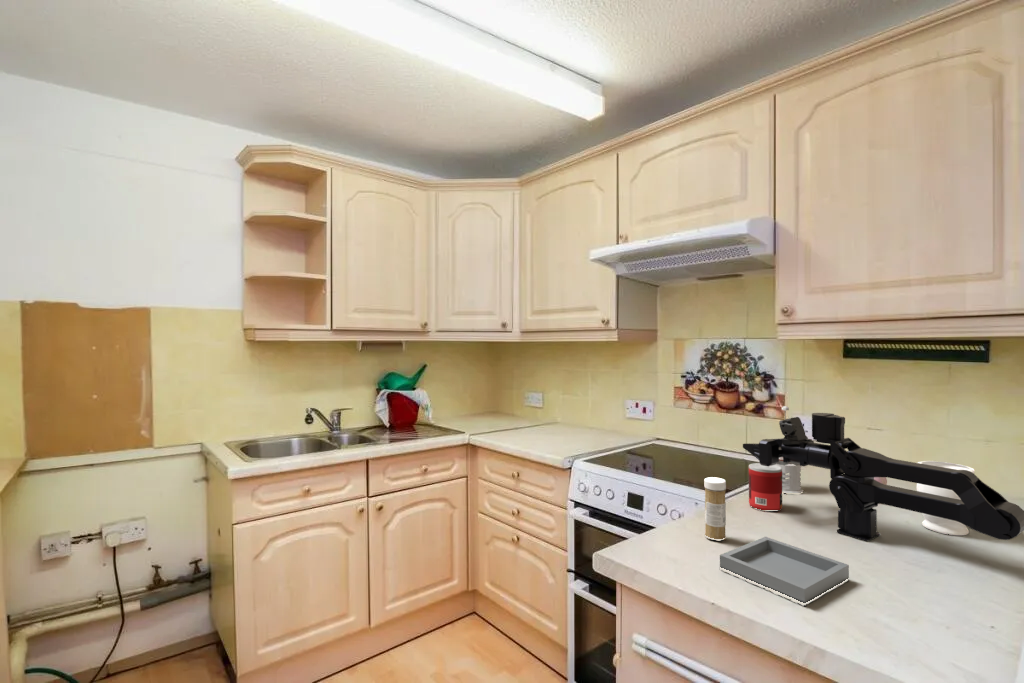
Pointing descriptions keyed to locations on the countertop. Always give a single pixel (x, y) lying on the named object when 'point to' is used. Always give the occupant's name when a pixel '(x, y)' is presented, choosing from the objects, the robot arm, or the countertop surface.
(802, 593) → the box
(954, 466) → the jar
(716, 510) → the sprinkles bottle
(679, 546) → the countertop surface
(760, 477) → the canned food
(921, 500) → the robot arm
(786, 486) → the french press
